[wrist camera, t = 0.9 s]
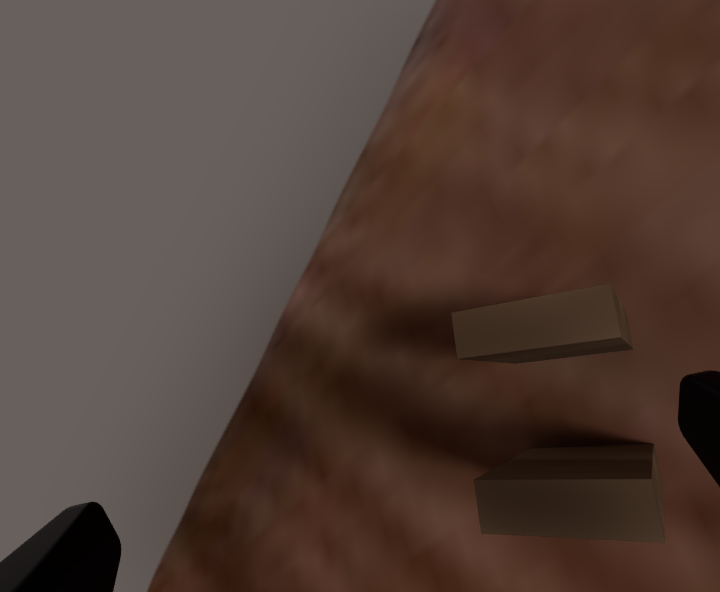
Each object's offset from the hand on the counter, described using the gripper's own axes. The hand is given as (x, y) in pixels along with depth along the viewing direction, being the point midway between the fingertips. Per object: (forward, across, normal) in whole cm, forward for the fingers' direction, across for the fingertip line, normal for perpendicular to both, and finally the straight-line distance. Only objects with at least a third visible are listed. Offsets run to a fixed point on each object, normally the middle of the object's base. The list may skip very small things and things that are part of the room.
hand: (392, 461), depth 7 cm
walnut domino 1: (+13, -9, +7) cm, 17 cm away
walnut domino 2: (+10, -8, +11) cm, 17 cm away
